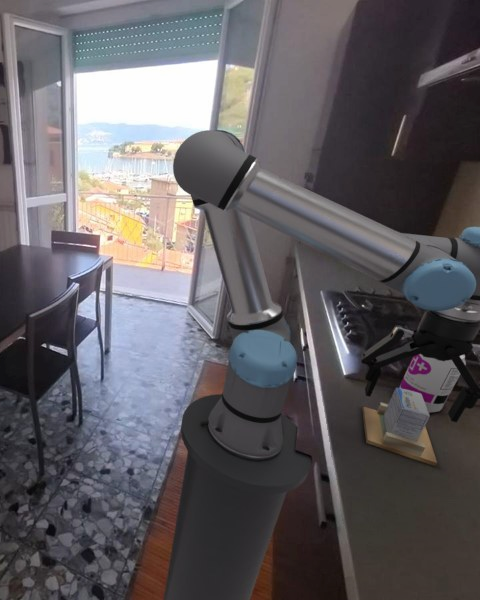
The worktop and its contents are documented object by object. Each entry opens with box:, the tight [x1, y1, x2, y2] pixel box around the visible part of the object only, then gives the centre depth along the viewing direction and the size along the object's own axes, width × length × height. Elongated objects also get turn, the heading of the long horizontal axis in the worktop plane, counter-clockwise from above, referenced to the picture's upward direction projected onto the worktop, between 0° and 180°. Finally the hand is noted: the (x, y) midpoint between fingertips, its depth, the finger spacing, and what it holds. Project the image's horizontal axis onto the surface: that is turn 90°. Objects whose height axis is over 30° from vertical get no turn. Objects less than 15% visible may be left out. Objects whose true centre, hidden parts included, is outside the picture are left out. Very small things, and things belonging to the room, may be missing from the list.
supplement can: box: [398, 354, 467, 414], centre depth 83 cm, size 8×8×15 cm
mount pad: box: [361, 402, 438, 467], centre depth 76 cm, size 11×12×4 cm
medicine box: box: [383, 387, 431, 441], centre depth 75 cm, size 8×4×9 cm, turn 148°
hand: (407, 404), depth 74 cm, fingers open, 13 cm apart
